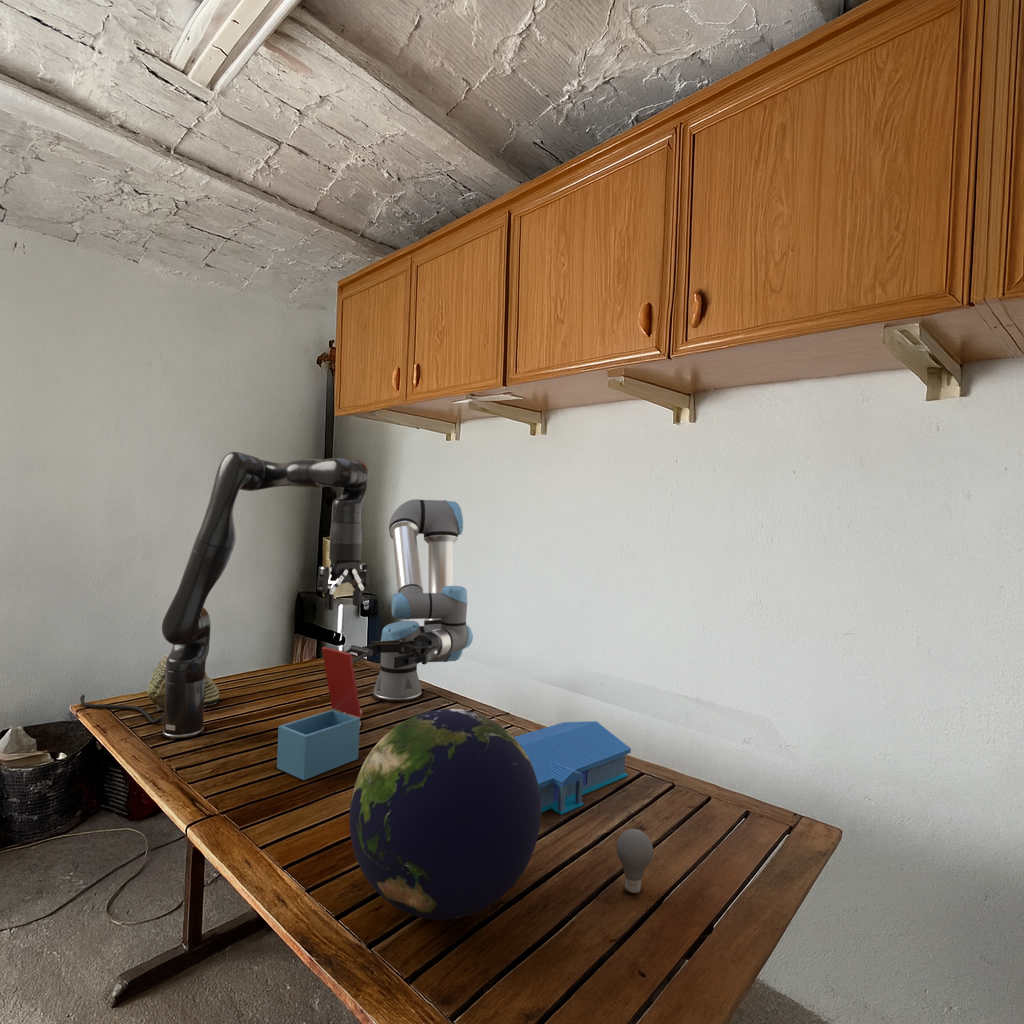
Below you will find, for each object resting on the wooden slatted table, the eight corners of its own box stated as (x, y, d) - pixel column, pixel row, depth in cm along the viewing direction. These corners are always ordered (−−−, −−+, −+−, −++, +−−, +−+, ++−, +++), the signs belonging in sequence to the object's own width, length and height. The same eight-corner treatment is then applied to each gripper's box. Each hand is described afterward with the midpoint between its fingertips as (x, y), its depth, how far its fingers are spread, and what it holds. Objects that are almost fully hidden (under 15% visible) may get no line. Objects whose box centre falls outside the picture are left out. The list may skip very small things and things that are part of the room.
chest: (303, 780, 141) (305, 736, 141) (276, 768, 146) (278, 726, 146) (358, 758, 154) (360, 718, 154) (331, 748, 159) (333, 709, 159)
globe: (303, 931, 92) (311, 727, 92) (410, 834, 120) (417, 677, 120) (490, 1000, 81) (500, 768, 81) (561, 876, 109) (569, 702, 108)
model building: (516, 834, 122) (519, 783, 122) (441, 787, 140) (443, 743, 140) (639, 780, 148) (641, 738, 148) (562, 747, 166) (564, 709, 166)
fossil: (144, 707, 182) (145, 655, 182) (212, 696, 194) (213, 647, 194) (151, 716, 175) (153, 662, 175) (221, 703, 188) (223, 653, 188)
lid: (348, 654, 150) (375, 640, 157) (321, 647, 155) (348, 634, 162) (358, 717, 153) (384, 700, 160) (331, 708, 159) (358, 692, 166)
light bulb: (610, 879, 108) (613, 822, 108) (644, 879, 109) (647, 822, 109) (619, 902, 102) (622, 840, 102) (655, 901, 103) (658, 840, 103)
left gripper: (332, 543, 146) (329, 613, 146) (378, 541, 158) (375, 606, 158) (311, 540, 150) (309, 609, 150) (357, 539, 162) (355, 602, 162)
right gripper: (464, 665, 175) (411, 682, 157) (399, 649, 189) (343, 663, 171) (465, 638, 174) (412, 652, 157) (400, 624, 188) (344, 635, 171)
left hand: (343, 607), depth 154 cm, fingers open, 8 cm apart
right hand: (376, 657), depth 164 cm, fingers open, 13 cm apart
